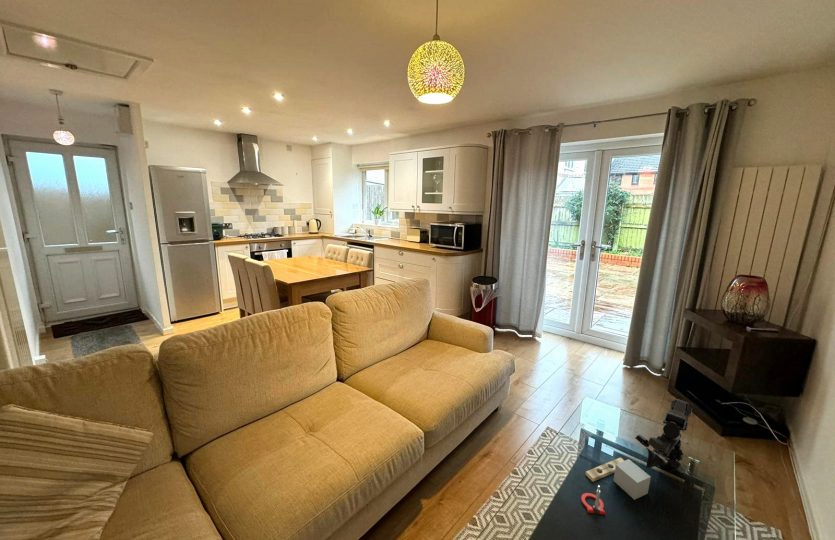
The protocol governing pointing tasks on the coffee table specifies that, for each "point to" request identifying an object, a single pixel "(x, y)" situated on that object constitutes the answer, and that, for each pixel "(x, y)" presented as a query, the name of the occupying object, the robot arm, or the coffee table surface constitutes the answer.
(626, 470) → the block
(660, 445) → the robot arm
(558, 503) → the coffee table surface
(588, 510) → the red shackle
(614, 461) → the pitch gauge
